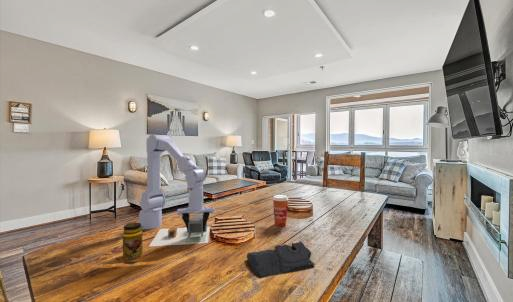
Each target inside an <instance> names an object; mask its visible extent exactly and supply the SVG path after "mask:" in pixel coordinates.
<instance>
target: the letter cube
mask: <svg viewBox="0 0 513 302" xmlns="http://www.w3.org/2000/svg"><path fill="white" fill-rule="evenodd" d="M177 228H178V227H169V228H168V229H169V230H168V238H170V237H176V235H177Z"/></svg>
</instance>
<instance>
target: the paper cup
mask: <svg viewBox="0 0 513 302" xmlns="http://www.w3.org/2000/svg"><path fill="white" fill-rule="evenodd" d="M272 201H273V202H272V203H273V220H274V221H273V222H274V226H276V227H281V228H283V227H286V225H287V216H288V215H287V214H288V204H289V203H288V202H289V197H288V196H287V195H285V194H276V195H275V194H274V195H273V198H272Z"/></svg>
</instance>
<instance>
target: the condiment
mask: <svg viewBox="0 0 513 302" xmlns="http://www.w3.org/2000/svg"><path fill="white" fill-rule="evenodd" d="M143 245H144V244H143V230H142V229H141V224H140V223H139V221H138V222H137V221H136V222H129V223H126V224H124V226H123V233H122V259H123V260H127V262H125V261H123V264H126V265H134V264H136V263H138V261H132V260H136V259H139V258H141V257H142V255H143V253H144V249H143V247H144V246H143ZM128 261H129V262H128Z"/></svg>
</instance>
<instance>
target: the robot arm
mask: <svg viewBox="0 0 513 302" xmlns="http://www.w3.org/2000/svg"><path fill="white" fill-rule="evenodd" d="M164 152H168V154H169V155H170V156H172V158H174V159H175V161H176V165H177V167H178V168H179V169H180V171H181V172H182V173H183V174H184V180H185V181H186V183H187V188H188V207H185V208H178V209H176V214H177V216H180V215H181V219H182V221H183V222H184V224H185V228H187V232H188V222H189V220H190V218H191V217H190V216H191V215H203V232H204V231H205V225H206V222H207V223H208V220H209V218H210V214H214V213H215V207H210V206H209V207H208V206H207V207H206V206H204V181H206V178H207V173H206V171H205V169H204V168H203V167H200V166H198V165H197V164H196V163H194V161H193V160H192V159H191V157H190V156H188V155H184V154H183V153H182V152H181V150H180V149H179V148H178V146H177V145H176V143H175V138H173V136H172V135H170V134H167V135H166V134H165V135H163V134H161V135H159V134H150V135H149V136H148V137H147V139H146V157H147V158H146V161H147V167H146V168H147V169H146V171H147V174H146V178H147V181H146V183H147V185H146V186H147V189H146V190H144V191H143V193H141V199H140V201H139V206H140V208H141V210H140V211H139V213H138V223H140V224H141V230H156V229H159V228H161V227H162V225H163V224H162V223H163V222H162V221H163V219H162V218H163V216H162V213H163V212H162V210H163V209H164V206H165V204H166V197H165V192H164V190H163V189H161V182H160V181H161V173H160V172H161V155H162V154H163V153H164Z"/></svg>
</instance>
